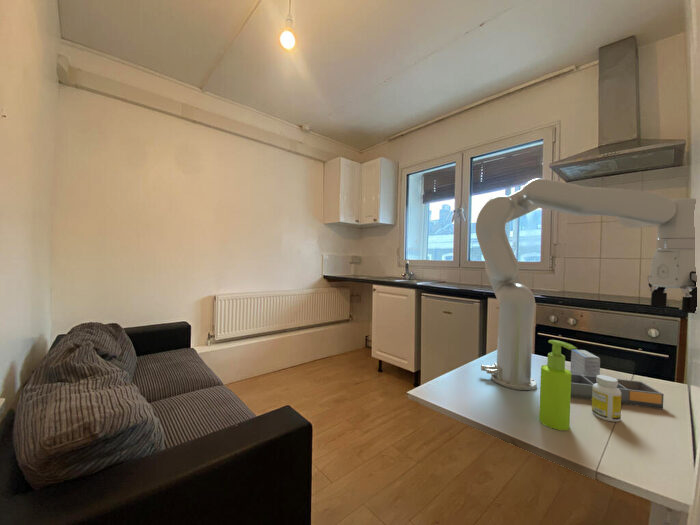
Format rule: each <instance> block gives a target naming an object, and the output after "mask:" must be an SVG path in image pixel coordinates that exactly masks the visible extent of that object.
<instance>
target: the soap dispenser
mask: <svg viewBox="0 0 700 525" xmlns="http://www.w3.org/2000/svg"><path fill="white" fill-rule="evenodd" d="M547 342H548V343H549V344H551V345H552V346H551V352H548V353H547V364H542V365H541V366H540V383H539V384H540V385H539V386H540V388H539V414H538V418H539V421H541V422H542V424H543V425H544V424H545V425H544V426H546V427H547V426H549V427H548V428H550V427H551V428H550V429H552V428H554V429H553V430H555V429H558V430H557V431H560V430H563V432H564V430H566V431H568V430H570V426H571V424H570V420H571V418H570V417H571V398H572V397H571V370H569V369H567V368H566V355H564V354H562V347H563V348H565V349H567V350H569V351H571V350H578V347H577V346H575V345H573V344H571V343H568V342H565V341H561V340H556V339H549V340H548V341H547ZM541 422H540V423H541Z"/></svg>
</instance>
